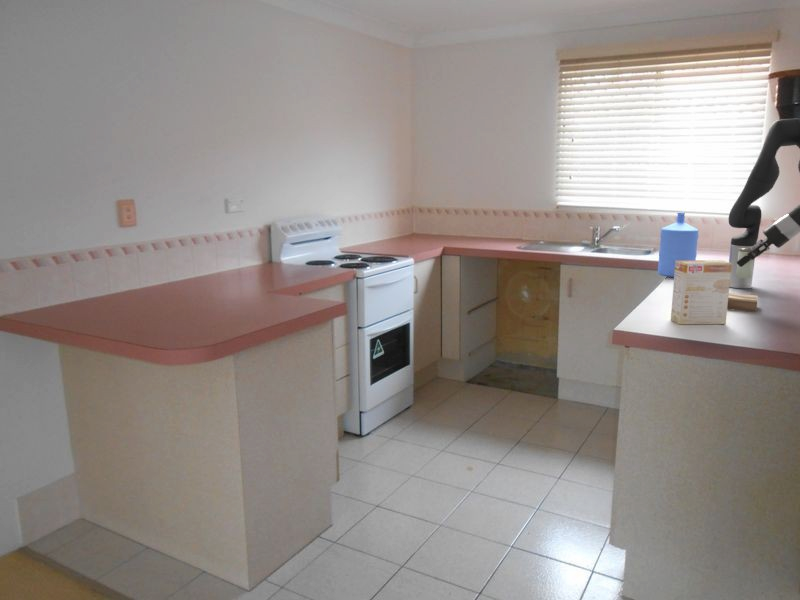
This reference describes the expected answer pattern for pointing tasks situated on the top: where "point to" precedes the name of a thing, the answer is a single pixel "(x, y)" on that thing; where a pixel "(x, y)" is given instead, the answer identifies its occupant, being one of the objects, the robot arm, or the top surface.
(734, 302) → the walnut plinth
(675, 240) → the water jug
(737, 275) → the spice jar
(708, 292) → the coffeecake box
